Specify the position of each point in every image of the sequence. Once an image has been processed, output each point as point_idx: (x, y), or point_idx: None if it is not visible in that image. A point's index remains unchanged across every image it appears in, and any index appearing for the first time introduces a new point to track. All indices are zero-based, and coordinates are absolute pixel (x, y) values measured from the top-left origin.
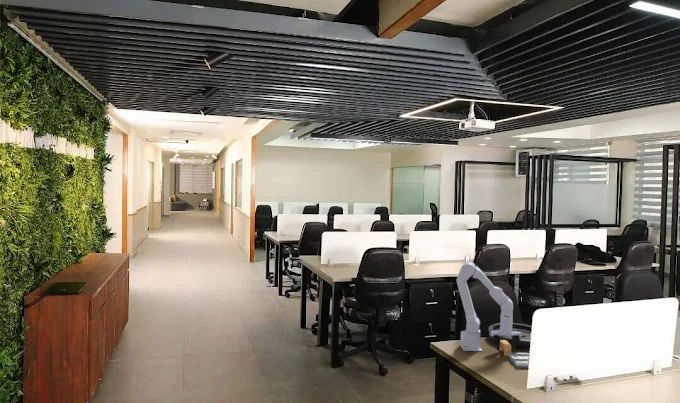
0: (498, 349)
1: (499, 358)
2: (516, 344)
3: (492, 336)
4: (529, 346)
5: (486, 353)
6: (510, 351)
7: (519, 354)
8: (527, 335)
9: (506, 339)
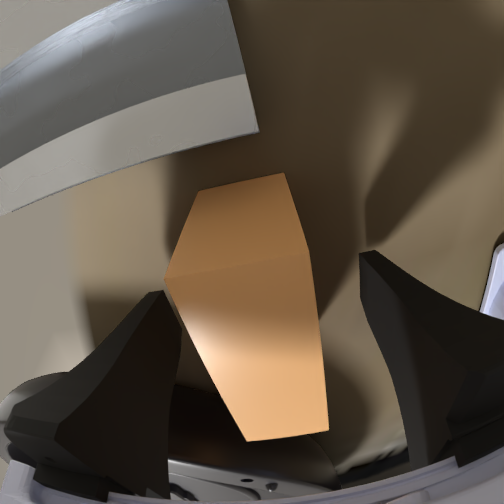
0: (374, 257)
1: (372, 57)
2: (91, 353)
3: (334, 471)
4: (43, 388)
5: (477, 203)
6: (197, 217)
7: (65, 134)
8: None
9: (236, 457)
